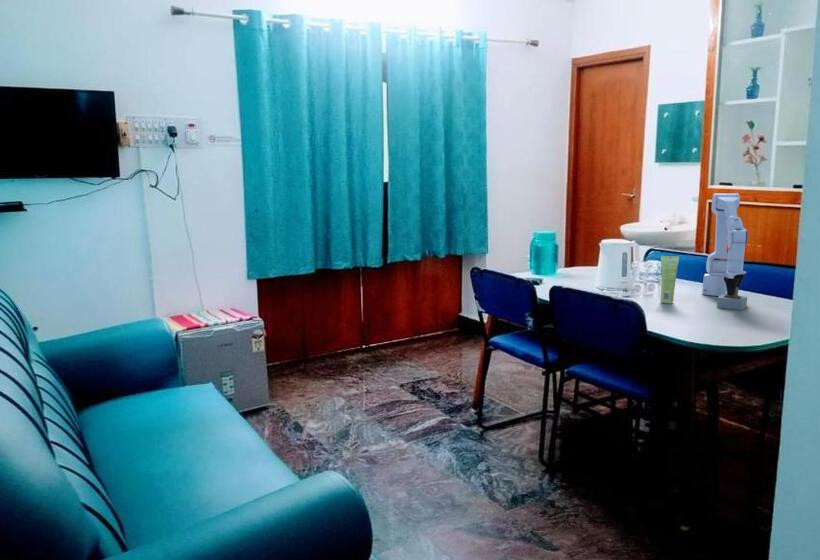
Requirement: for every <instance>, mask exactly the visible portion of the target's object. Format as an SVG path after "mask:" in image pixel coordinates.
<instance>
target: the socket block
mask: <svg viewBox="0 0 820 560" xmlns="http://www.w3.org/2000/svg"><path fill="white" fill-rule="evenodd" d="M726 297H727V294H722V295H721V296H717V301H716V302H717V303H716V308H718V309H719V308H721V309H726V310H727V309H729V310H735V311H742V310H744V309H745V308H746V307H747V303H748V296H746V295H739V294H738V299H734V298H726Z"/></svg>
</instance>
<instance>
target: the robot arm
mask: <svg viewBox="0 0 820 560" xmlns="http://www.w3.org/2000/svg"><path fill="white" fill-rule="evenodd" d="M740 196H741V195H740V194H739V193H738V192H735V193H714V194H713V195H712V198H711V213H713V214H715V234H714V235H715V239H714V251H713V252H712V253H710V254H709V255H708V256H707V258H706V264H705V270H706V272H707V273H704V274H703V279H702V280H703V281H702V291H701V295H704V296H705V295H706V296H713V297H719V296H721V295H722V294H728V295H732V296H733V295H734V293H735V289H736V287H739V288H738V291H740V287H741V284H742V281H743V279H744V278H745V276H746V274H747V271H744V260H745V253H746V252H745V250H746V249H745V248H746V245H747V244H748V241H749V232H748V229H746V228H745V227H744V225H743V221H742V218H741V217H740V216H738V210H737V209H738V208H739V207H740V205H741V204H740V203H741V197H740ZM727 249H728V252H727Z"/></svg>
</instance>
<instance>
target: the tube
mask: <svg viewBox="0 0 820 560" xmlns="http://www.w3.org/2000/svg"><path fill="white" fill-rule="evenodd" d="M679 262H680V256H679V255H677V256H676V255H675V256H672V255H671V256H669V255H667V256H666V255H665V256H664V255H661V256H660V267H661V268H660V273H661V275H660V276H661V277H660V282H661V283H660V299H659V300H660V303H662V304H668V305H669V304H673V303H674V299H675V298H674V296H675V289H676V288H675V287H676V280H677V279H676V278H677V273H678V268H679V267H678V266H679Z"/></svg>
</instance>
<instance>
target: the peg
mask: <svg viewBox="0 0 820 560" xmlns="http://www.w3.org/2000/svg"><path fill="white" fill-rule="evenodd" d="M738 288H739V289H740V287H736V289H735V293H734V295H733V296H732V295H728V294H727V297H726V298H734V299H738V295H739V290H738Z"/></svg>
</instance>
